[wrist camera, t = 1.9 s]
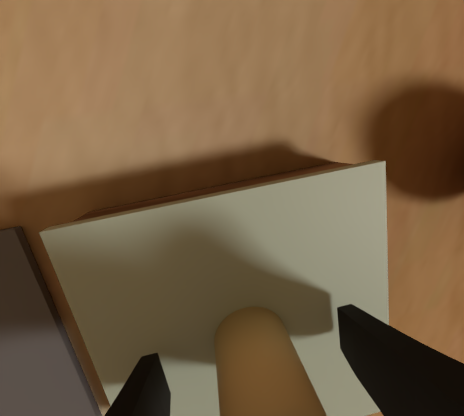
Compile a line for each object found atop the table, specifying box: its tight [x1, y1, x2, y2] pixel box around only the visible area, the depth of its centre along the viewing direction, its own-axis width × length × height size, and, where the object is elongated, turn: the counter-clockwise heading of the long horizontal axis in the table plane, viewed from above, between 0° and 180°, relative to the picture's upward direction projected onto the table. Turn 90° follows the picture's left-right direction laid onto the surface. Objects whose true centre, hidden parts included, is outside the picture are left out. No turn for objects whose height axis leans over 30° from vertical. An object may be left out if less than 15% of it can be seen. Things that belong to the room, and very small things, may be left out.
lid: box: [39, 160, 389, 416], centre depth 9 cm, size 12×12×5 cm
